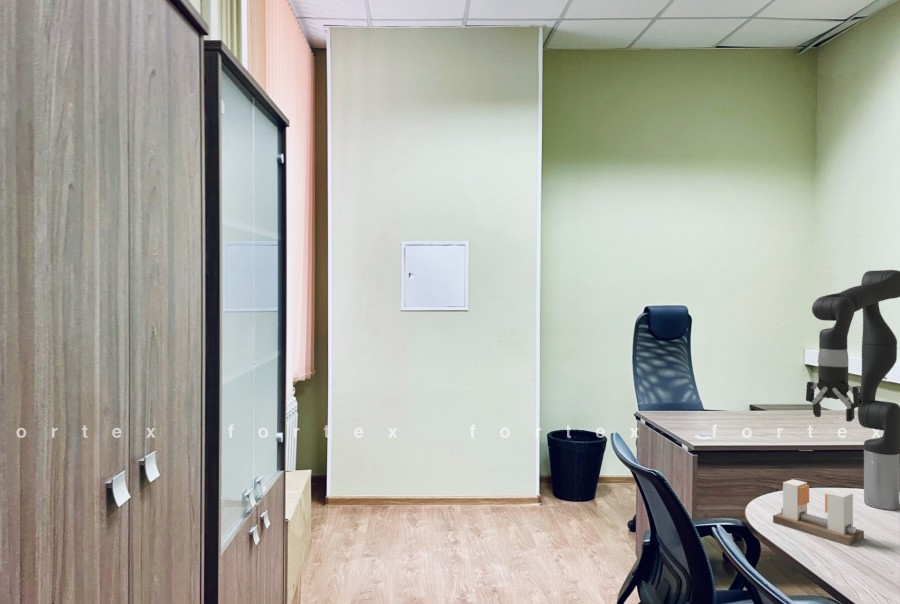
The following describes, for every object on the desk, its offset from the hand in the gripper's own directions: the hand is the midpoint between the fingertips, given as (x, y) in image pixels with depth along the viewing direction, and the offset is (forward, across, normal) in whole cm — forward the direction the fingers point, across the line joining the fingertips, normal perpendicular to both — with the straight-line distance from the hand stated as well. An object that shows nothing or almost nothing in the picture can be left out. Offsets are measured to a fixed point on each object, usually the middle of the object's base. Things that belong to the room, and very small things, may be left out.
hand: (833, 418), depth 176 cm
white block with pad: (+28, -7, +12) cm, 31 cm away
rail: (+30, -1, +12) cm, 32 cm away
